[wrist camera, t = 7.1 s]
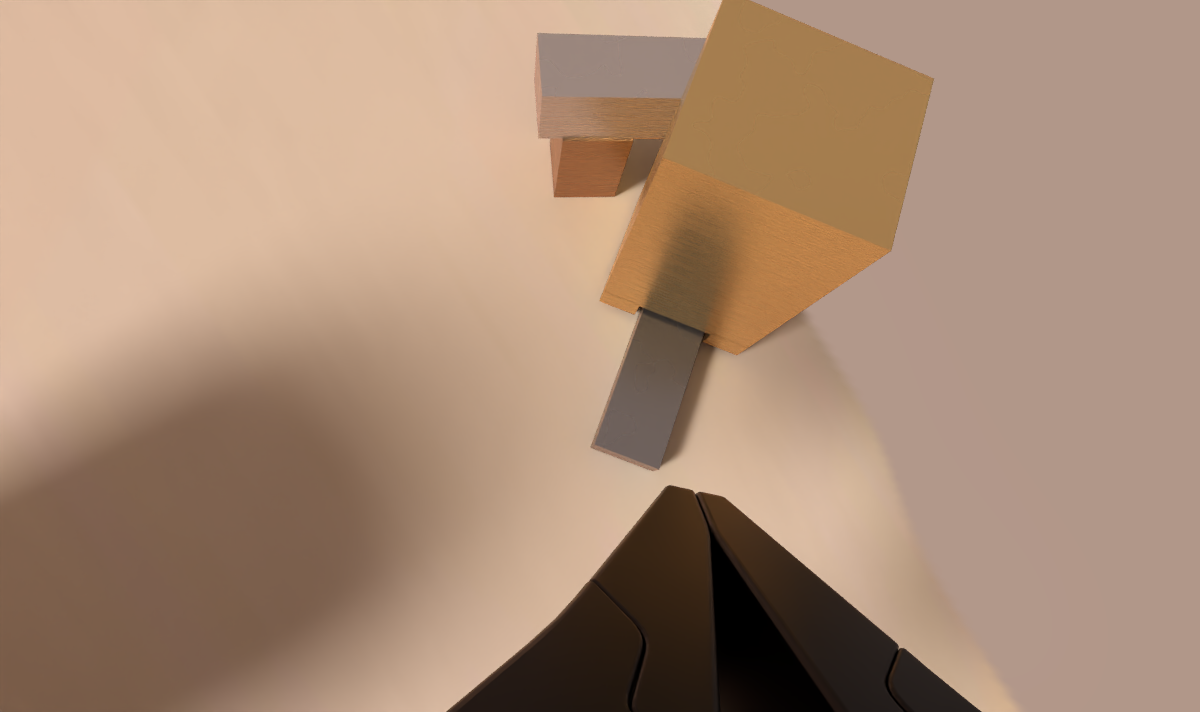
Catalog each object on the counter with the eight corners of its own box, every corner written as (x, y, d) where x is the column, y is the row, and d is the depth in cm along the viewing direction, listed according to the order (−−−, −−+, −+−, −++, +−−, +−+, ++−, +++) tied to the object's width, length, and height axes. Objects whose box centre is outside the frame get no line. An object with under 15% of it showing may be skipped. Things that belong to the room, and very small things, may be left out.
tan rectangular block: (736, 355, 24) (890, 250, 14) (599, 301, 24) (662, 157, 14) (771, 242, 25) (933, 78, 16) (642, 190, 25) (726, -10, 15)
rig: (652, 471, 23) (703, 456, 17) (422, 382, 22) (391, 337, 16) (753, 167, 26) (824, 69, 21) (556, 86, 26) (571, -38, 20)
